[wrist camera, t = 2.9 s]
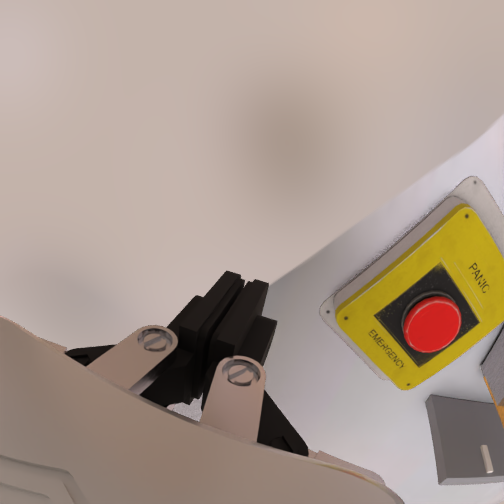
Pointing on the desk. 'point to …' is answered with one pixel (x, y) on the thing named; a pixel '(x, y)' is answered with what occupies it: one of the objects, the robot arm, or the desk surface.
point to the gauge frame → (466, 441)
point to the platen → (496, 374)
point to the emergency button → (427, 291)
